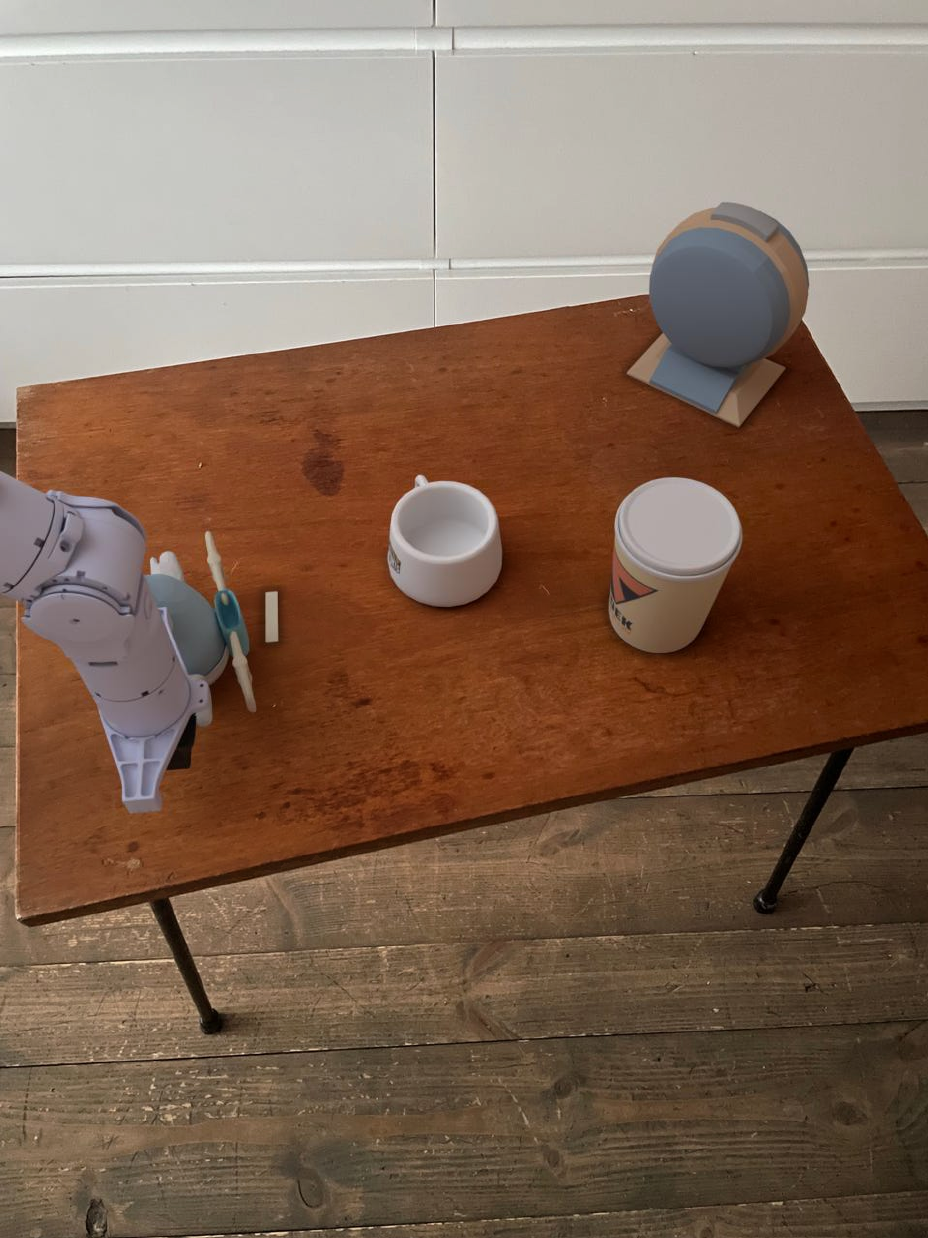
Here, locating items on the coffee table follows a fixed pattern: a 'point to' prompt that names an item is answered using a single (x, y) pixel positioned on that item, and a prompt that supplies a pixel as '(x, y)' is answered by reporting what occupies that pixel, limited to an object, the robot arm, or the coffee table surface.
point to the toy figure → (203, 624)
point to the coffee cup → (670, 561)
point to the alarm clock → (723, 309)
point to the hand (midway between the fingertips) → (176, 762)
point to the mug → (444, 543)
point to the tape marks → (271, 617)
